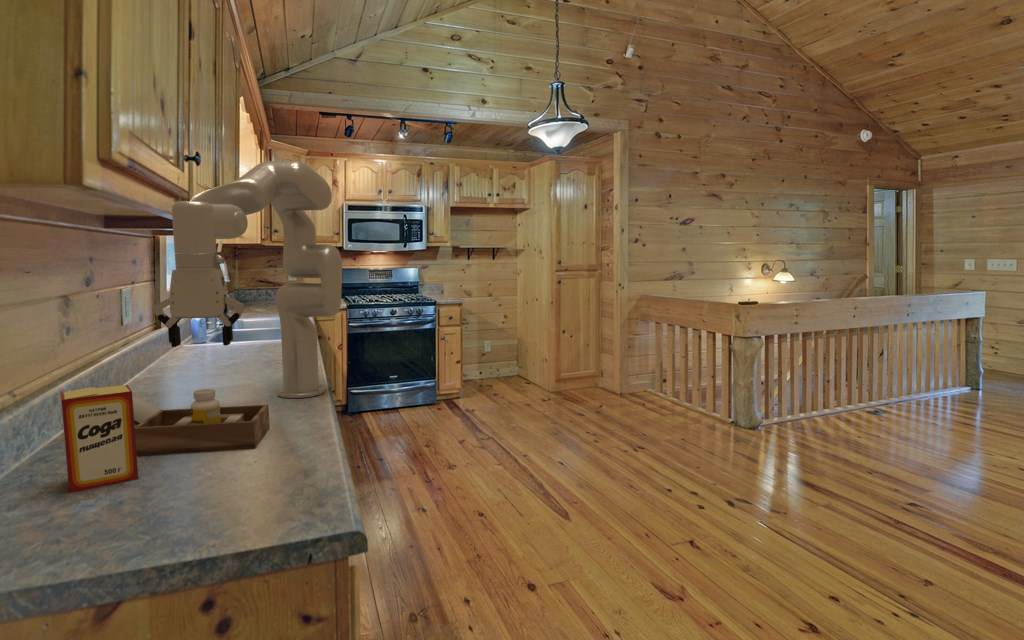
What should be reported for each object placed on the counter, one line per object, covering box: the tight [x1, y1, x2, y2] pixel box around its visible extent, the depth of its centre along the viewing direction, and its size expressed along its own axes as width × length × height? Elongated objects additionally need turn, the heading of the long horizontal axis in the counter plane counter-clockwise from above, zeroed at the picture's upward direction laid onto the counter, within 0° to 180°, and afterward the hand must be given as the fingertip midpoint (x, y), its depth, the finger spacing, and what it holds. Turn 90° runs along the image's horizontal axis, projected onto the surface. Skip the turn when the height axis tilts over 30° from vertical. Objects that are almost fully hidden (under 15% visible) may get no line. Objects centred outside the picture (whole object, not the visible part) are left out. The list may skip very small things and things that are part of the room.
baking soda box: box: [60, 384, 139, 494], centre depth 97 cm, size 10×6×16 cm
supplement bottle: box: [190, 388, 221, 424], centre depth 118 cm, size 5×5×10 cm
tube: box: [132, 393, 163, 424], centre depth 134 cm, size 5×5×25 cm
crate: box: [134, 404, 270, 457], centre depth 118 cm, size 14×22×6 cm, turn 102°
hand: (201, 345), depth 117 cm, fingers open, 9 cm apart
